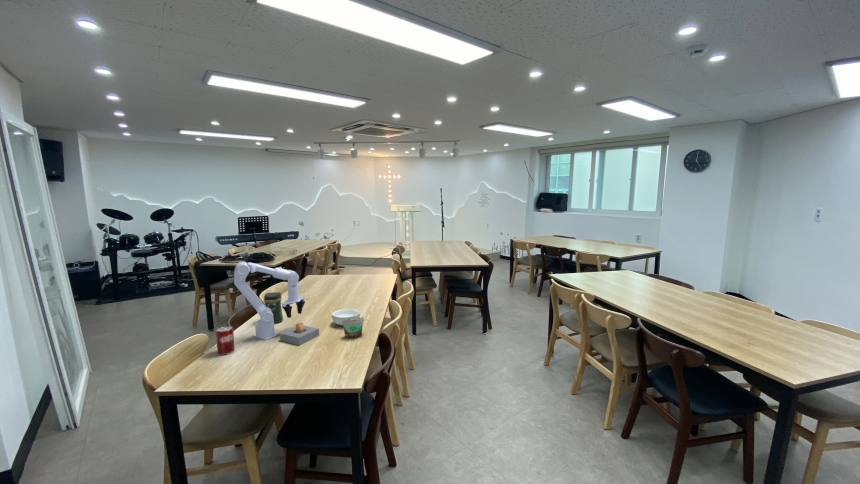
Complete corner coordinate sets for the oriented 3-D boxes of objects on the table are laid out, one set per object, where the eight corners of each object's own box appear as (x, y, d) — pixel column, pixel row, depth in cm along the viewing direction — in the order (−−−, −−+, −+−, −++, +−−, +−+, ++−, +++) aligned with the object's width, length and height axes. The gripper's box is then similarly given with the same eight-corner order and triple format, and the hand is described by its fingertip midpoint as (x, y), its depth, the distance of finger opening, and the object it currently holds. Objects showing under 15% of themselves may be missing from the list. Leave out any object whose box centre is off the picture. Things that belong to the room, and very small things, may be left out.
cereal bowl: (366, 322, 203) (365, 311, 202) (345, 331, 189) (345, 319, 188) (346, 317, 212) (346, 306, 211) (326, 325, 198) (325, 313, 197)
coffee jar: (284, 319, 208) (283, 290, 206) (280, 323, 200) (278, 294, 198) (268, 319, 207) (266, 291, 205) (263, 324, 199) (262, 294, 197)
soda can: (238, 350, 164) (236, 327, 162) (224, 356, 157) (223, 332, 156) (227, 348, 166) (225, 325, 165) (213, 354, 159) (212, 330, 158)
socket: (280, 340, 175) (279, 333, 175) (300, 331, 188) (300, 324, 187) (299, 345, 169) (299, 337, 169) (319, 335, 182) (318, 328, 182)
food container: (344, 340, 175) (344, 322, 174) (342, 336, 180) (341, 319, 179) (367, 336, 181) (366, 319, 180) (364, 332, 186) (363, 315, 185)
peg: (294, 338, 178) (293, 324, 177) (300, 336, 181) (299, 322, 180) (300, 340, 176) (299, 325, 175) (305, 337, 180) (305, 323, 179)
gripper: (288, 296, 177) (289, 320, 179) (308, 290, 190) (309, 312, 192) (278, 294, 180) (280, 318, 182) (299, 288, 193) (300, 311, 195)
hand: (294, 315), depth 187 cm, fingers open, 7 cm apart
